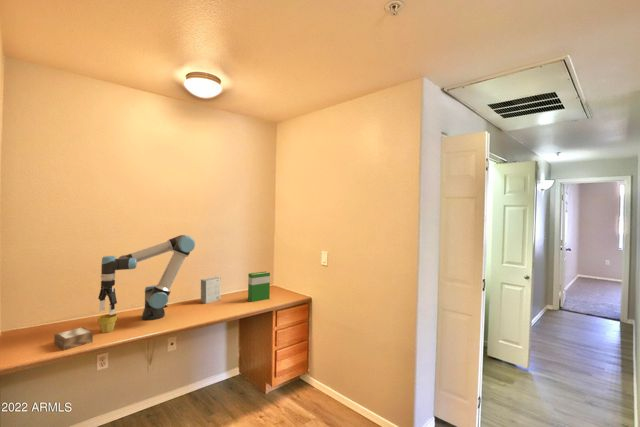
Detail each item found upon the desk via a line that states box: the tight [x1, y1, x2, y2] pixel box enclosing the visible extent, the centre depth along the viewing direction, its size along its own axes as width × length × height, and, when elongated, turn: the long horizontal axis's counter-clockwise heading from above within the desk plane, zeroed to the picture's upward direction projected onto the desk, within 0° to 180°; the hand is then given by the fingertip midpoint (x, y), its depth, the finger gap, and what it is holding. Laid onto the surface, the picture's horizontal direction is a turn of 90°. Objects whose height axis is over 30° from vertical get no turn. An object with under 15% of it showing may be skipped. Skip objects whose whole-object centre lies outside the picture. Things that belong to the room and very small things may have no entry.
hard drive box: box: [200, 276, 222, 305], centre depth 274 cm, size 16×8×20 cm, turn 144°
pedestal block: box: [53, 326, 94, 351], centre depth 184 cm, size 14×14×6 cm
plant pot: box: [97, 313, 118, 334], centre depth 203 cm, size 10×10×10 cm
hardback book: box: [247, 271, 271, 303], centre depth 281 cm, size 18×7×24 cm, turn 129°
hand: (107, 312), depth 203 cm, fingers open, 13 cm apart
